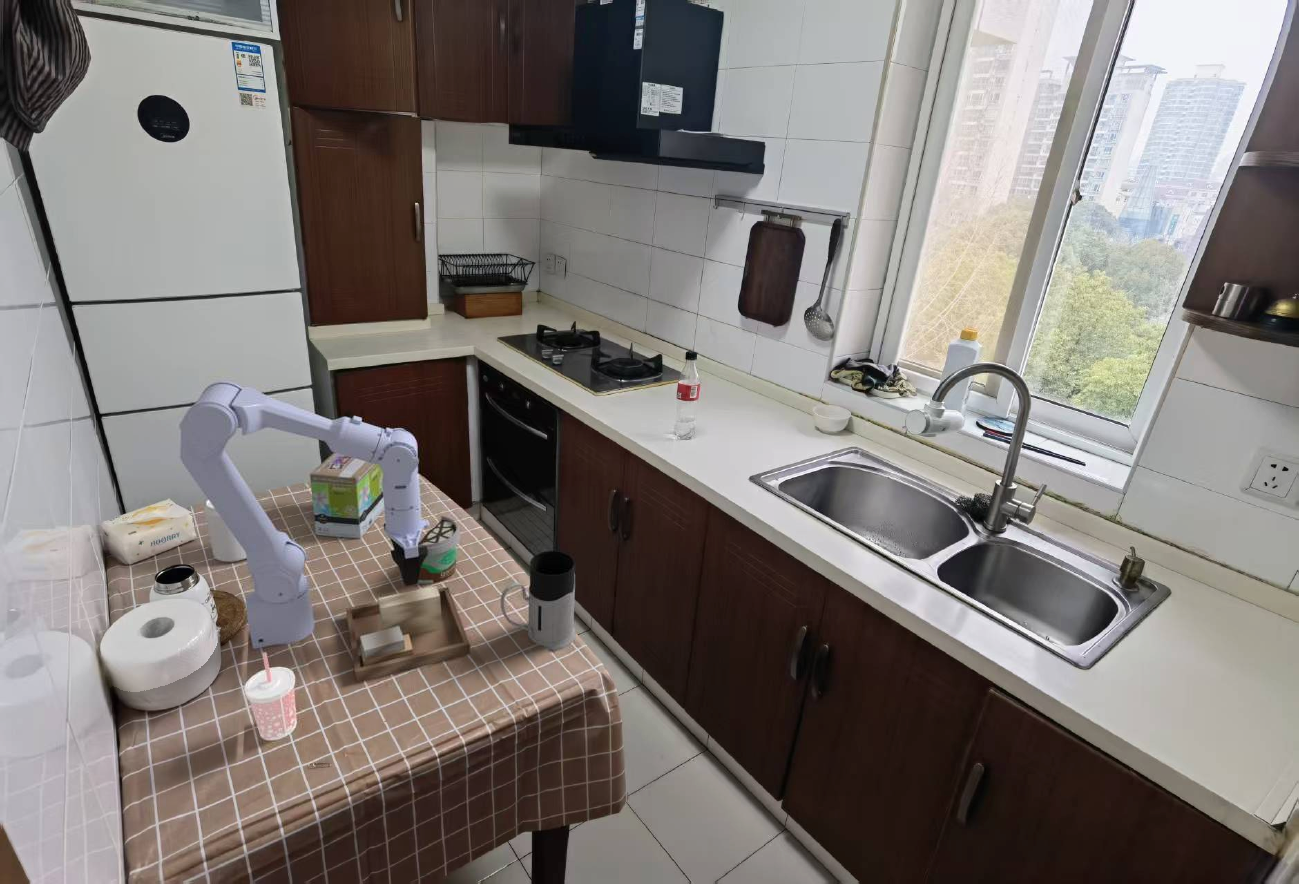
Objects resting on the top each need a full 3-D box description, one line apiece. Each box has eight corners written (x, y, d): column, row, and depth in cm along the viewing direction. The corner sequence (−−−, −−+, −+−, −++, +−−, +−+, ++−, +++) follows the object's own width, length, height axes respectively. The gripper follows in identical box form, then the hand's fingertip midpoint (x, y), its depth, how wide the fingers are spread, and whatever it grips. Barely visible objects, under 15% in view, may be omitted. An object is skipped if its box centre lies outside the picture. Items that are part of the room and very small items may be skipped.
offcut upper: (365, 660, 106) (364, 650, 105) (361, 646, 109) (360, 636, 108) (405, 649, 109) (404, 639, 108) (399, 635, 112) (398, 625, 111)
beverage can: (263, 557, 134) (254, 504, 129) (215, 568, 129) (204, 513, 124) (258, 538, 140) (249, 487, 135) (212, 548, 135) (201, 495, 130)
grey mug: (585, 637, 119) (588, 566, 113) (515, 671, 110) (515, 596, 104) (557, 612, 125) (559, 543, 119) (488, 643, 116) (487, 569, 110)
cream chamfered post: (384, 642, 113) (380, 608, 110) (381, 631, 115) (378, 597, 112) (441, 628, 117) (440, 595, 114) (438, 618, 119) (436, 586, 117)
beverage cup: (291, 708, 100) (277, 632, 94) (310, 730, 96) (298, 653, 91) (246, 731, 95) (230, 653, 90) (266, 756, 92) (249, 676, 86)
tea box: (362, 539, 142) (356, 477, 136) (315, 536, 142) (306, 473, 136) (389, 505, 156) (384, 447, 150) (345, 502, 156) (339, 444, 150)
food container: (443, 596, 127) (441, 551, 123) (413, 590, 127) (410, 545, 124) (472, 561, 138) (471, 519, 134) (444, 556, 139) (442, 514, 135)
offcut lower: (364, 671, 106) (362, 661, 106) (361, 654, 110) (360, 645, 109) (413, 658, 110) (412, 649, 109) (409, 643, 113) (408, 633, 112)
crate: (357, 686, 104) (355, 672, 103) (347, 621, 118) (345, 608, 117) (470, 657, 112) (469, 644, 111) (448, 599, 126) (448, 587, 125)
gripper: (435, 519, 107) (439, 589, 112) (419, 480, 119) (423, 546, 124) (389, 526, 104) (395, 599, 109) (377, 486, 115) (383, 553, 121)
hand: (407, 571), depth 116 cm, fingers open, 7 cm apart
